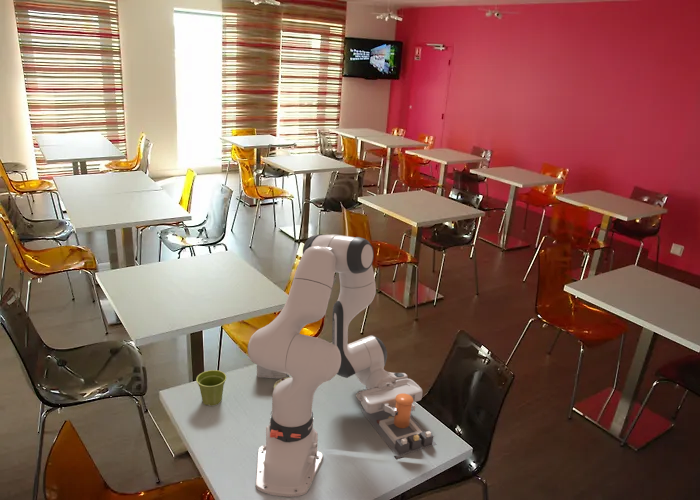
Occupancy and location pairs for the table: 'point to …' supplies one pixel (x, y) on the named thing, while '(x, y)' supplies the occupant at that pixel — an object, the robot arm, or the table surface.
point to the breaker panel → (400, 433)
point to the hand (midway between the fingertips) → (404, 411)
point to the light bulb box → (269, 373)
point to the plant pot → (211, 386)
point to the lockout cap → (403, 410)
